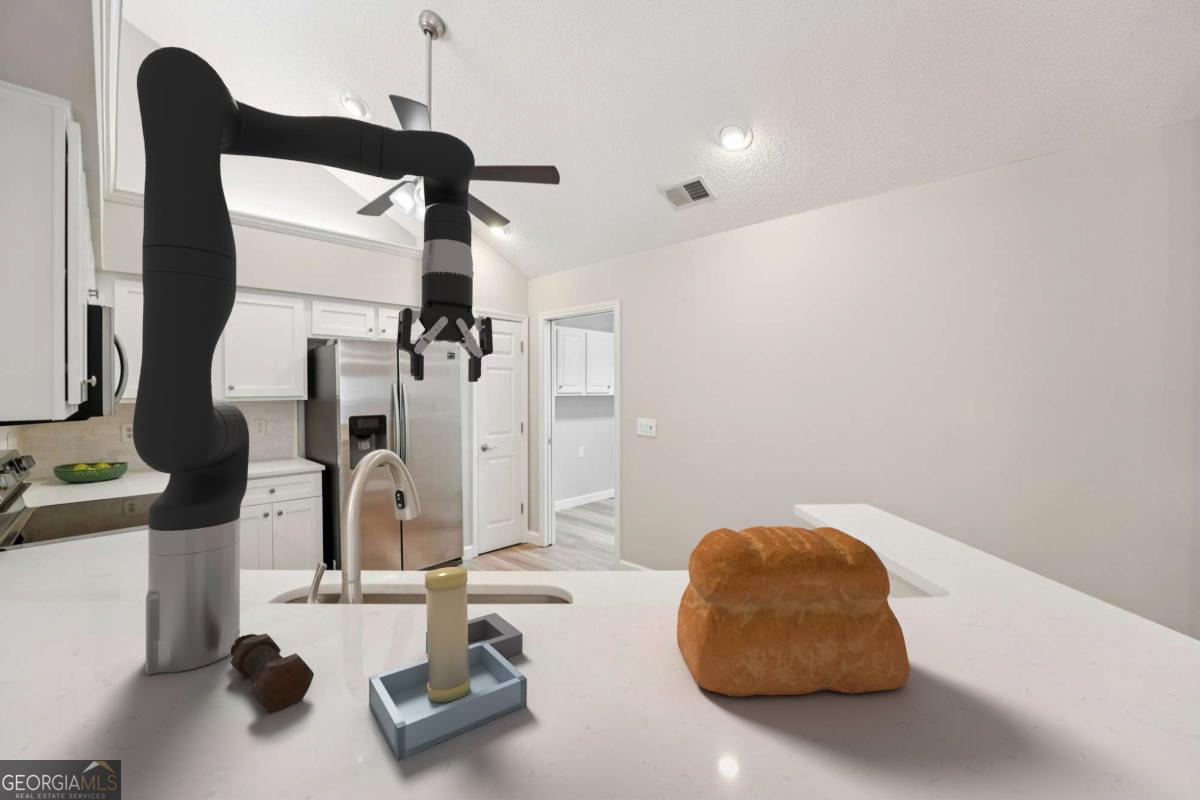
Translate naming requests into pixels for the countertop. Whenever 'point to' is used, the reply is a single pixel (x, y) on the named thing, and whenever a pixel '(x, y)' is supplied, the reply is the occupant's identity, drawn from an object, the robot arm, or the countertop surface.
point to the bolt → (271, 672)
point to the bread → (789, 614)
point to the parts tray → (427, 722)
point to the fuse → (447, 634)
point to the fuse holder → (495, 634)
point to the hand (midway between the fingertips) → (446, 381)
